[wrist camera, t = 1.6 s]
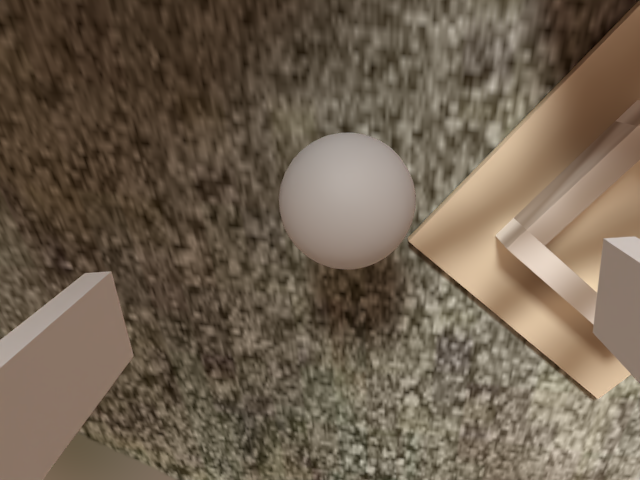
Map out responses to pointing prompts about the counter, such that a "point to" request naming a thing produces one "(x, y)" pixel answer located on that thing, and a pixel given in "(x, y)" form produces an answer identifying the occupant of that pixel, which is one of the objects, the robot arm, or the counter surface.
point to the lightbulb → (347, 200)
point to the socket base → (553, 209)
